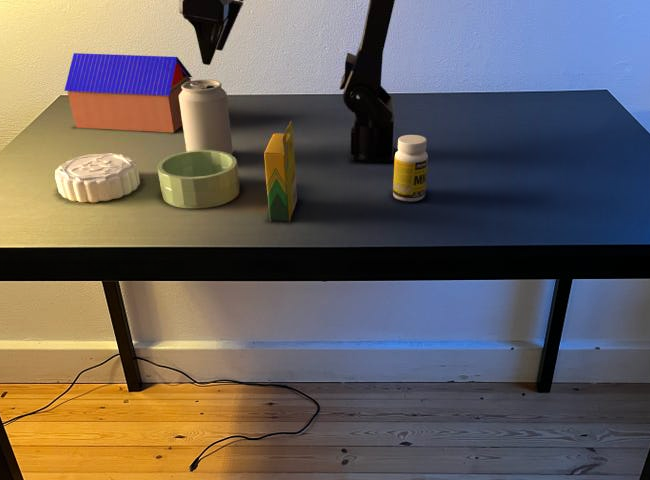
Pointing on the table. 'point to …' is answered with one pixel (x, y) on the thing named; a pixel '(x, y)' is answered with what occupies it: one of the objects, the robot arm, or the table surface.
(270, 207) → the crayon box
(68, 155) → the table surface
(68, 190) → the mooncake
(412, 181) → the supplement bottle
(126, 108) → the house
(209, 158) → the pot
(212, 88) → the can
